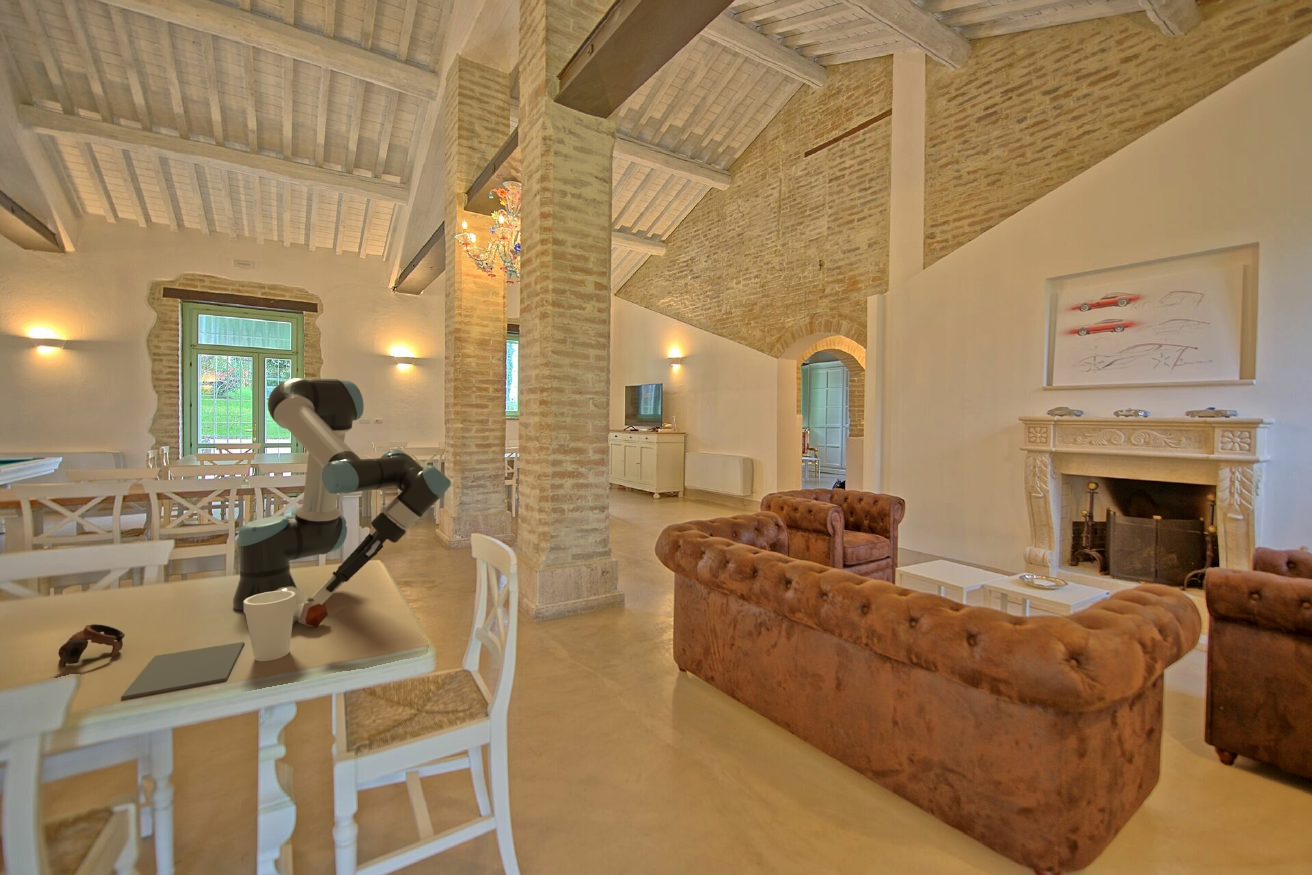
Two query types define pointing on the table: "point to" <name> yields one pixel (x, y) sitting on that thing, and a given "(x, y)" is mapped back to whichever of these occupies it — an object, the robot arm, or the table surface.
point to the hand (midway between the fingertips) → (316, 600)
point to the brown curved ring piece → (91, 632)
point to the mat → (185, 670)
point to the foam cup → (270, 623)
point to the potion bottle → (306, 609)
